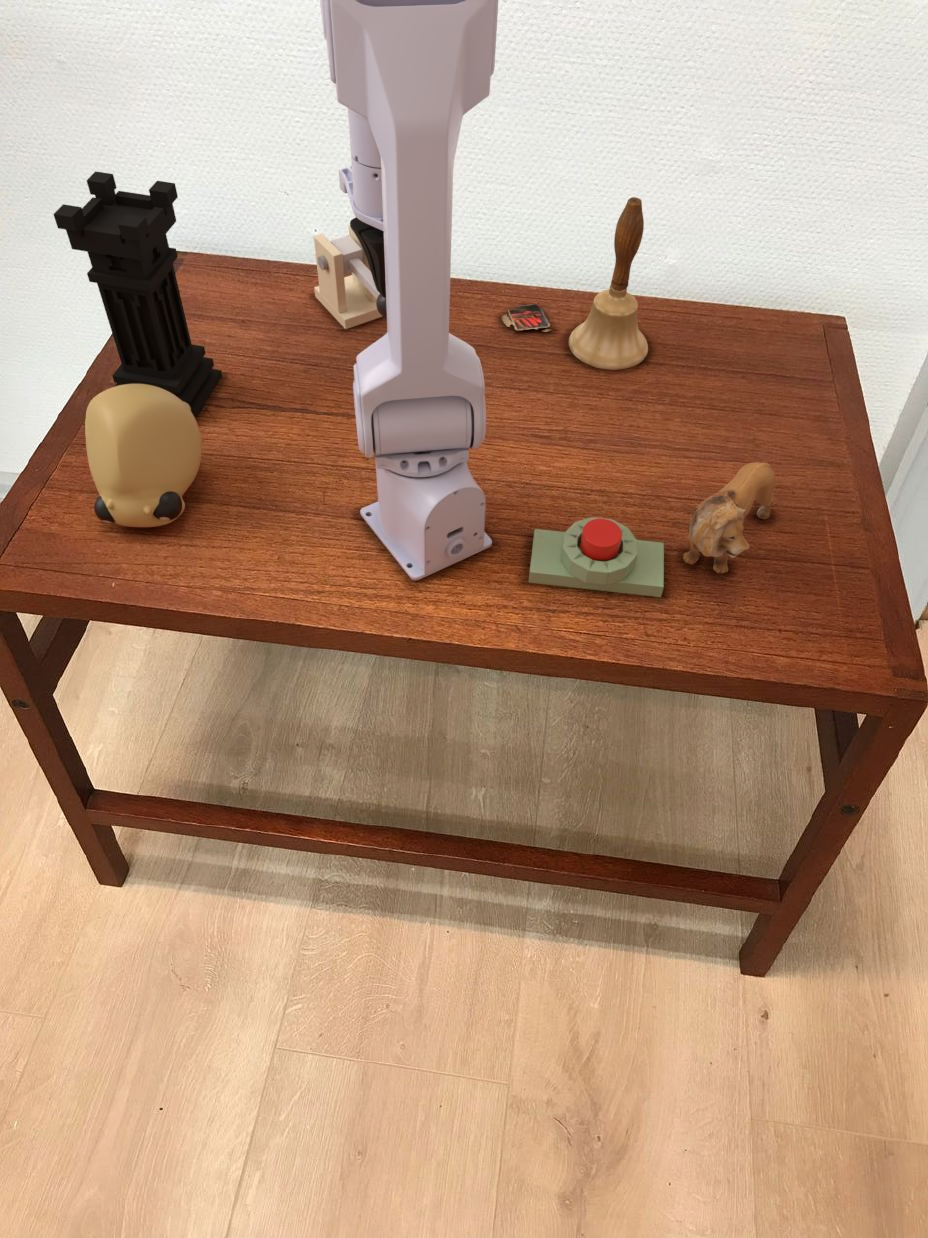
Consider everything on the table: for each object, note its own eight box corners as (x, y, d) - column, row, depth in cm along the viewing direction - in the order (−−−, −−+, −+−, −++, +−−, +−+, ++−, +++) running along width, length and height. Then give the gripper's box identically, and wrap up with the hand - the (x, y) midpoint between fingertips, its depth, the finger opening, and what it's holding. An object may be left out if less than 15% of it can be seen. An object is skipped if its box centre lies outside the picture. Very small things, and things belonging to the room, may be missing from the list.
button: (619, 535, 81) (622, 520, 80) (618, 563, 79) (621, 548, 78) (581, 530, 82) (583, 516, 80) (579, 558, 80) (581, 544, 78)
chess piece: (111, 413, 94) (46, 215, 78) (147, 363, 98) (93, 168, 83) (189, 427, 93) (139, 230, 77) (222, 376, 97) (181, 181, 82)
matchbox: (533, 303, 106) (534, 299, 106) (557, 329, 103) (558, 325, 103) (495, 314, 105) (496, 310, 104) (519, 340, 102) (519, 336, 102)
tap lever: (409, 319, 98) (409, 295, 95) (385, 327, 97) (385, 303, 94) (352, 256, 103) (351, 232, 101) (328, 263, 102) (327, 239, 100)
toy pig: (111, 520, 90) (57, 528, 79) (108, 386, 88) (52, 376, 77) (217, 524, 89) (176, 533, 79) (216, 389, 87) (174, 380, 77)
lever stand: (391, 314, 105) (388, 246, 99) (341, 331, 103) (335, 263, 96) (359, 282, 108) (354, 215, 102) (310, 298, 106) (303, 231, 100)
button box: (661, 548, 84) (667, 524, 82) (660, 603, 80) (667, 579, 78) (533, 535, 85) (536, 510, 82) (527, 588, 81) (530, 563, 79)
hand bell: (647, 325, 104) (676, 180, 92) (648, 373, 99) (679, 226, 87) (569, 319, 105) (587, 173, 92) (567, 367, 100) (585, 219, 87)
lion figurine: (724, 611, 80) (752, 535, 73) (663, 587, 81) (684, 510, 74) (778, 501, 88) (808, 423, 81) (722, 481, 90) (746, 402, 83)
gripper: (467, 177, 83) (464, 316, 93) (382, 108, 90) (388, 244, 101) (395, 198, 80) (400, 339, 91) (313, 126, 88) (327, 264, 98)
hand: (389, 291), depth 96 cm, fingers closed, pressing on tap lever
